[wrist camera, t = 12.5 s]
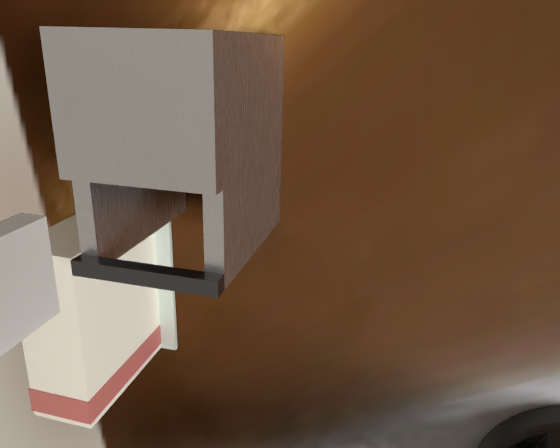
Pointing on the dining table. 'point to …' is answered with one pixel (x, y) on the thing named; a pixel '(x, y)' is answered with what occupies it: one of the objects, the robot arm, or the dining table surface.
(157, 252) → the pad
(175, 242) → the dining table surface
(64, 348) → the pink-banded white block
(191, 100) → the dispenser
